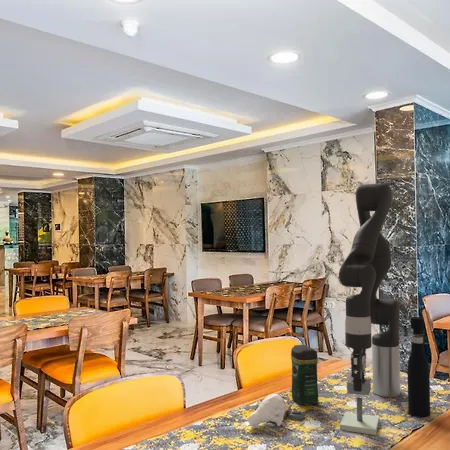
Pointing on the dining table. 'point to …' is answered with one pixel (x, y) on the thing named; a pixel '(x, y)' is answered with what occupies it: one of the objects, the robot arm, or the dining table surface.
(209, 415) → the dining table surface
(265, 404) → the white lumpy piece
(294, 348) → the coffee jar
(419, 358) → the black water bottle
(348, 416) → the peg stand
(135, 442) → the dining table surface
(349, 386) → the link
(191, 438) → the dining table surface
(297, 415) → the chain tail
